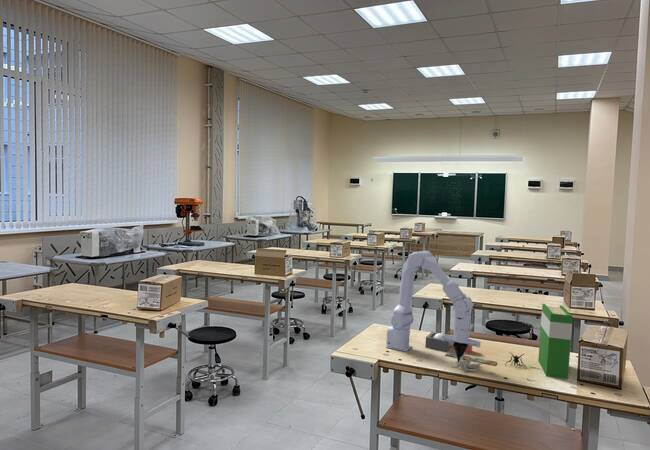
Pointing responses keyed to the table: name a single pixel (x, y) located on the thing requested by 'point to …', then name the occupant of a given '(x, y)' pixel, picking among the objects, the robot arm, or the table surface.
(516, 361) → the creature
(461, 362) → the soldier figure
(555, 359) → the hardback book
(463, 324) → the robot arm
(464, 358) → the track
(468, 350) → the die
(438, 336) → the dome
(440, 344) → the dome base
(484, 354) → the table surface
